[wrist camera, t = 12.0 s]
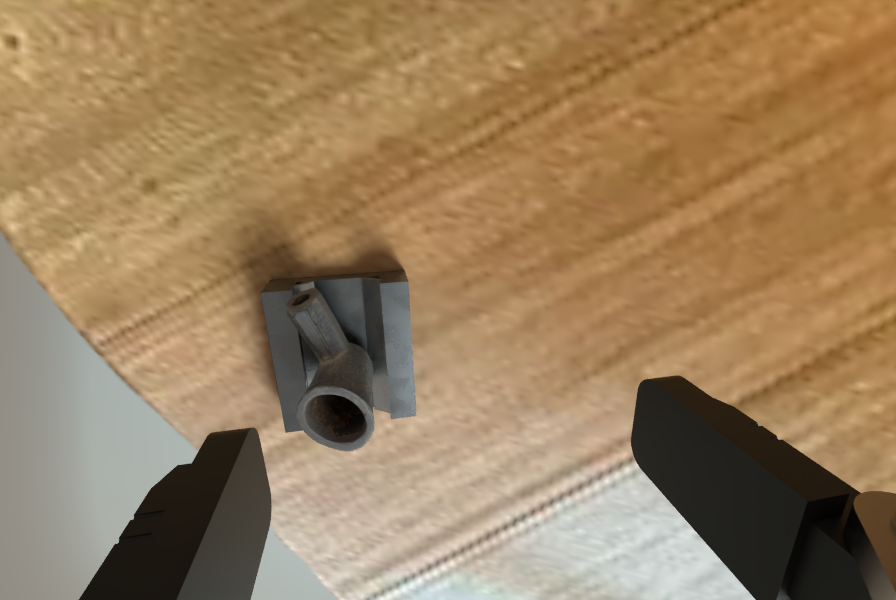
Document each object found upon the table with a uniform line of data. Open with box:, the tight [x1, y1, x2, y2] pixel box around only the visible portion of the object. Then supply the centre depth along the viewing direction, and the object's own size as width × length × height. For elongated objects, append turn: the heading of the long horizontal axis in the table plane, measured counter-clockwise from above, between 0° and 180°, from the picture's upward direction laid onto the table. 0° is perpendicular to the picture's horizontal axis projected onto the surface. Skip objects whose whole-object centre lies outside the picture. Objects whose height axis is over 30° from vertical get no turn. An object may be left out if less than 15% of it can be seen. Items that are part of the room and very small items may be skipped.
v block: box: [261, 270, 416, 432], centre depth 41 cm, size 14×12×4 cm
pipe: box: [286, 288, 374, 451], centre depth 37 cm, size 6×13×8 cm, turn 20°
